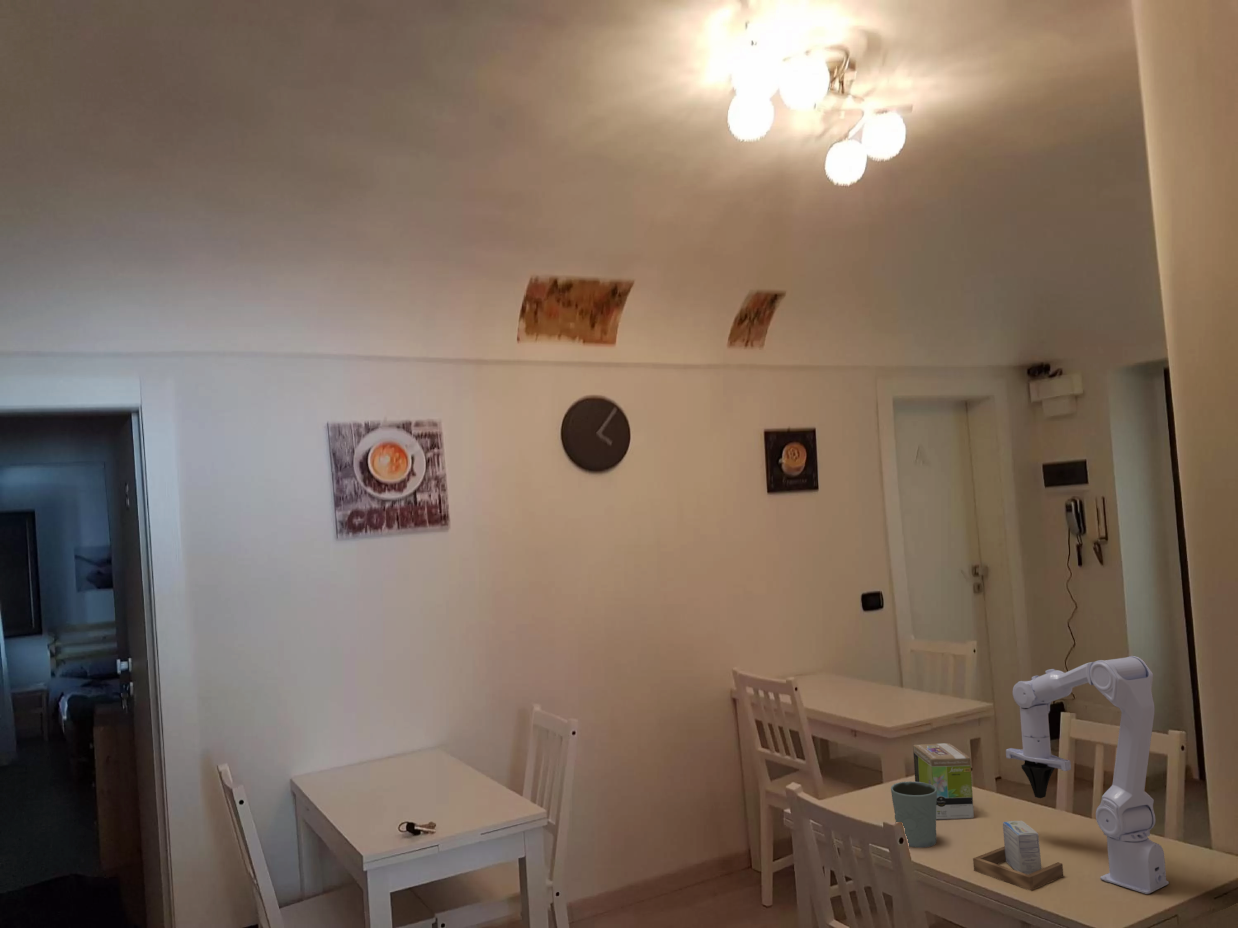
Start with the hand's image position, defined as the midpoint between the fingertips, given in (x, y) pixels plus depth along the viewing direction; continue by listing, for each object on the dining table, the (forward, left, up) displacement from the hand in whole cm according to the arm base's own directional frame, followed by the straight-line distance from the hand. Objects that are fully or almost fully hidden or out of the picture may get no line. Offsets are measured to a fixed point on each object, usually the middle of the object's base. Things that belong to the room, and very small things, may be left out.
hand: (1040, 796), depth 205 cm
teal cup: (+19, +19, -11) cm, 29 cm away
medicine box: (-5, +15, -11) cm, 19 cm away
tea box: (+29, -3, -11) cm, 31 cm away
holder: (-6, +18, -10) cm, 21 cm away
